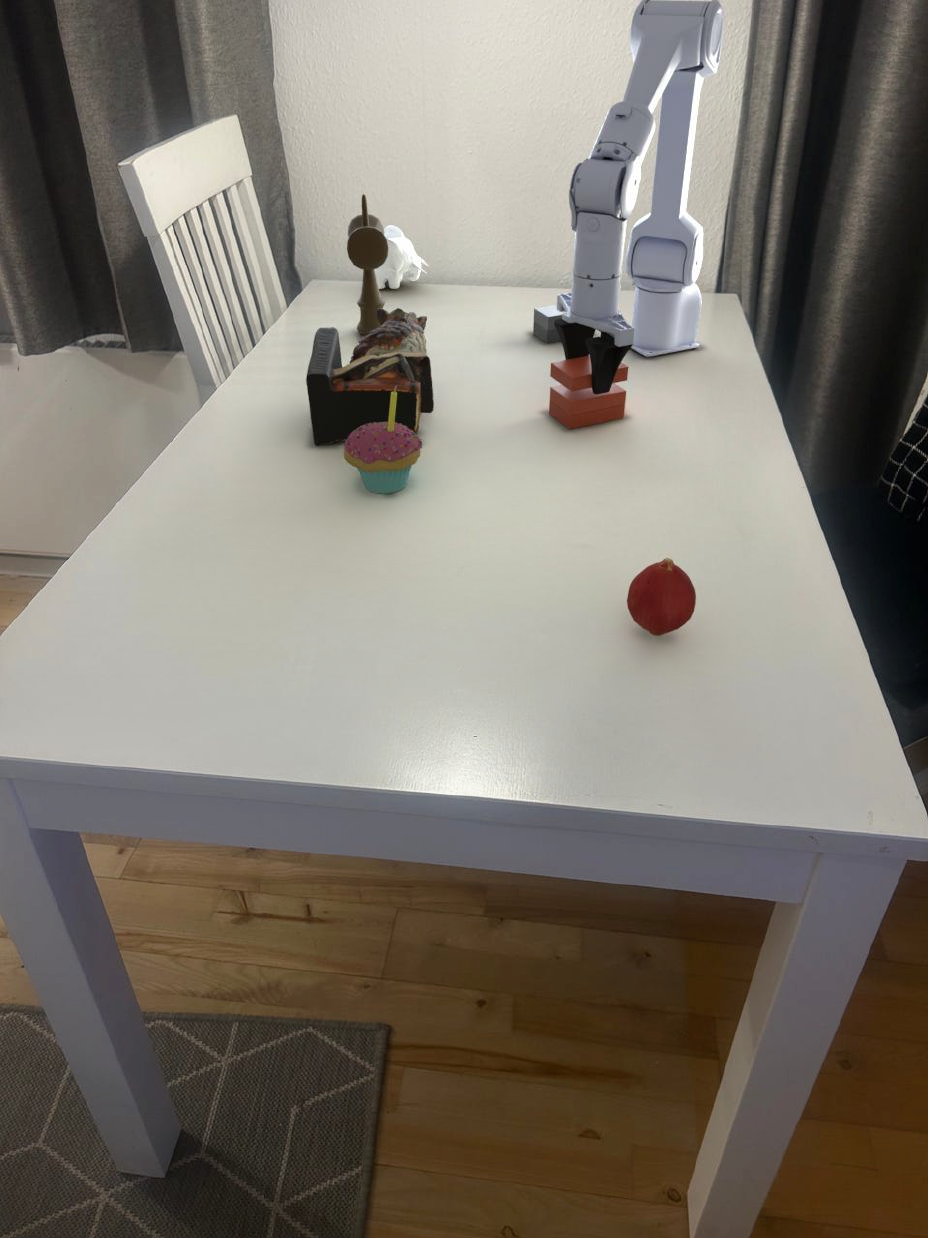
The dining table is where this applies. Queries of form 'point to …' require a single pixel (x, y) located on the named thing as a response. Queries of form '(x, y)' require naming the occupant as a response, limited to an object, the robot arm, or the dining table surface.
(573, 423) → the red rectangular block
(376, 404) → the bookend
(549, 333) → the dark grey rectangular block
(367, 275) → the kendama
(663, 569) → the onion
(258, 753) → the dining table surface
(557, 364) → the flat red block
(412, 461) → the cupcake
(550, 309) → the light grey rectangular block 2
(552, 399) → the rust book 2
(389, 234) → the elephant figurine
